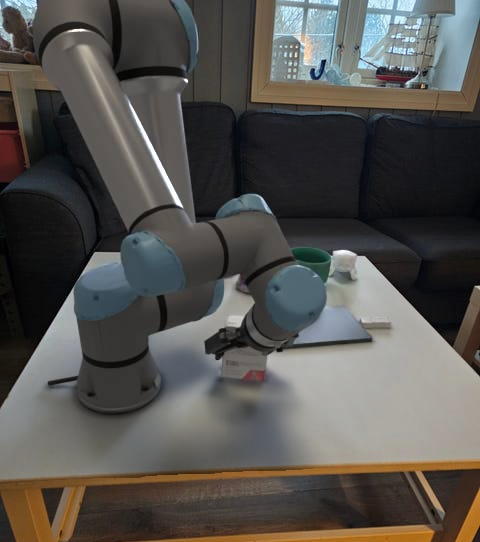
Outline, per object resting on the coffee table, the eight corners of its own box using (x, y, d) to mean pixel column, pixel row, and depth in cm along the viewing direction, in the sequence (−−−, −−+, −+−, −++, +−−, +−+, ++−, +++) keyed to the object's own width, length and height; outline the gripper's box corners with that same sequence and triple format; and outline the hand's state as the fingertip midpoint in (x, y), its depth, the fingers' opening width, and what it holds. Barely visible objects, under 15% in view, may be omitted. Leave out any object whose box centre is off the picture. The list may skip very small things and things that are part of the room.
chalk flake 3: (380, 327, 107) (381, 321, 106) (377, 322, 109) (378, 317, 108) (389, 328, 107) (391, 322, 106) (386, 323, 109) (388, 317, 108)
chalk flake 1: (361, 328, 106) (362, 322, 105) (358, 323, 108) (360, 317, 107) (370, 328, 106) (372, 322, 105) (368, 323, 108) (369, 318, 107)
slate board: (274, 349, 96) (274, 345, 95) (256, 314, 109) (256, 310, 109) (371, 341, 101) (372, 337, 100) (343, 308, 114) (343, 305, 114)
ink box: (265, 367, 88) (271, 318, 83) (264, 382, 84) (271, 331, 78) (223, 363, 89) (227, 313, 83) (220, 377, 84) (224, 325, 79)
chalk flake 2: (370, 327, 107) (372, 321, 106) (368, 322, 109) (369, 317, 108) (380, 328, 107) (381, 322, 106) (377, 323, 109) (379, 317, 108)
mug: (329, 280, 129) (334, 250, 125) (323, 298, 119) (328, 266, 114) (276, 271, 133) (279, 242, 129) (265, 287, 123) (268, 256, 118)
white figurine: (327, 274, 140) (326, 276, 126) (331, 248, 139) (331, 246, 125) (354, 278, 139) (356, 280, 124) (358, 252, 138) (362, 251, 123)
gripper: (200, 353, 63) (188, 375, 85) (338, 342, 68) (294, 365, 89) (195, 305, 65) (185, 337, 86) (330, 297, 70) (289, 330, 91)
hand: (240, 351), depth 88 cm, fingers closed on ink box, 9 cm apart
